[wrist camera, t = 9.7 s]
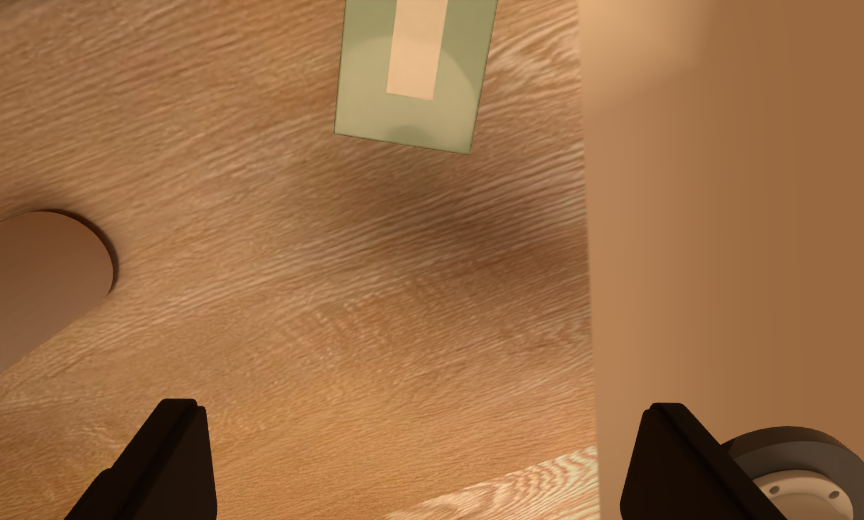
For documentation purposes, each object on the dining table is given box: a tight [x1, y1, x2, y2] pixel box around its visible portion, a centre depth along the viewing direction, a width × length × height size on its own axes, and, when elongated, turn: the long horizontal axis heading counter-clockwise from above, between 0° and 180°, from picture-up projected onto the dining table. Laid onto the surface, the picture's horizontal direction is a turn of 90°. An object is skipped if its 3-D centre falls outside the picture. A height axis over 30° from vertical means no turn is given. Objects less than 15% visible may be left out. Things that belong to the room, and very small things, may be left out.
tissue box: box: [334, 0, 498, 155], centre depth 22 cm, size 6×11×7 cm, turn 171°
